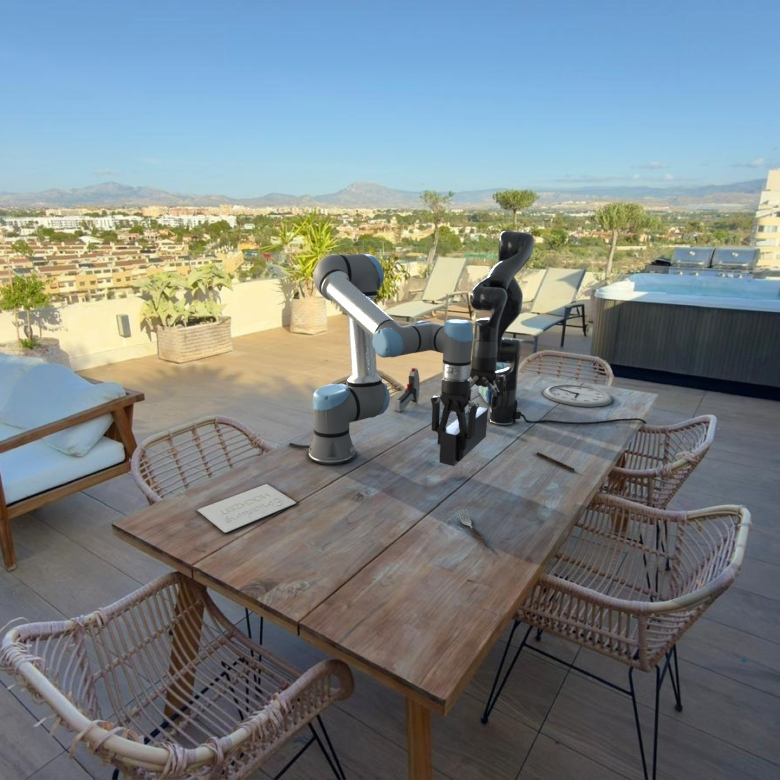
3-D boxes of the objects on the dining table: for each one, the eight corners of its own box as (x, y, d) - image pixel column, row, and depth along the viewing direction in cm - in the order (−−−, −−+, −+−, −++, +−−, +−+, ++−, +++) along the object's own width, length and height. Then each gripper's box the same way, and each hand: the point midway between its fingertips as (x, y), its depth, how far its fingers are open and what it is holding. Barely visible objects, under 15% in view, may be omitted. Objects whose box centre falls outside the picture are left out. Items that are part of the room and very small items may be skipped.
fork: (482, 550, 123) (483, 543, 123) (456, 516, 138) (457, 509, 138) (492, 549, 124) (493, 542, 124) (465, 515, 139) (466, 508, 138)
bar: (472, 433, 167) (474, 406, 164) (486, 436, 165) (488, 408, 162) (439, 462, 146) (440, 431, 143) (454, 466, 144) (455, 435, 141)
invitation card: (266, 483, 153) (296, 502, 143) (266, 484, 153) (296, 503, 143) (197, 509, 139) (225, 532, 129) (197, 510, 139) (225, 533, 129)
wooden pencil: (536, 454, 177) (536, 452, 176) (537, 454, 177) (537, 451, 177) (573, 471, 165) (573, 468, 164) (574, 471, 165) (574, 468, 165)
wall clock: (625, 402, 226) (558, 403, 224) (625, 406, 227) (558, 407, 224) (594, 383, 255) (534, 383, 252) (593, 386, 255) (534, 386, 253)
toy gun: (393, 376, 211) (414, 366, 222) (394, 412, 217) (415, 401, 228) (398, 377, 210) (419, 367, 221) (399, 414, 216) (419, 402, 227)
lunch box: (475, 390, 246) (478, 346, 240) (498, 390, 246) (501, 347, 240) (484, 408, 221) (487, 360, 215) (509, 409, 221) (513, 360, 215)
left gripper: (420, 376, 141) (417, 455, 148) (481, 386, 133) (475, 470, 140) (432, 370, 148) (429, 446, 155) (492, 380, 139) (485, 459, 146)
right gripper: (457, 353, 158) (454, 403, 163) (503, 360, 151) (498, 412, 156) (467, 348, 164) (464, 396, 169) (511, 354, 157) (506, 405, 162)
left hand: (451, 457), depth 147 cm, fingers closed on bar, 4 cm apart
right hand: (480, 404), depth 162 cm, fingers open, 8 cm apart
